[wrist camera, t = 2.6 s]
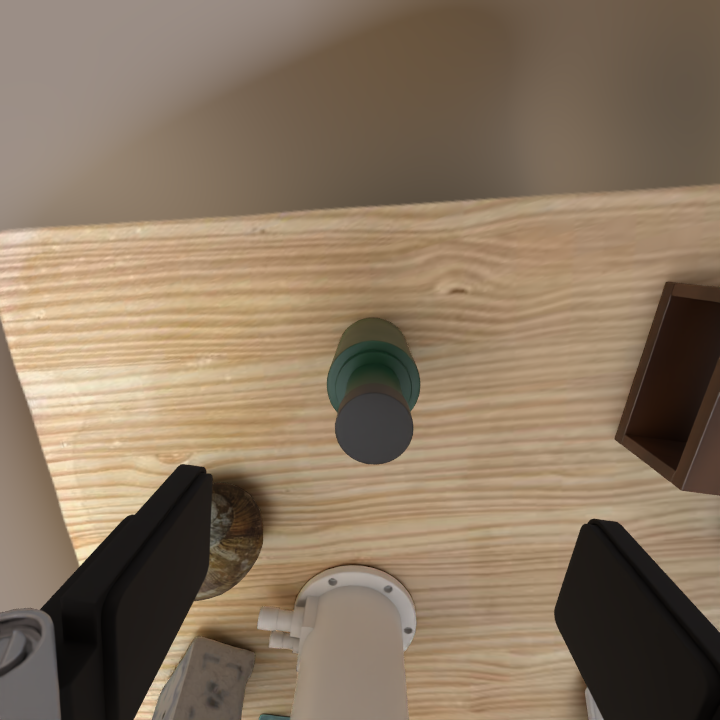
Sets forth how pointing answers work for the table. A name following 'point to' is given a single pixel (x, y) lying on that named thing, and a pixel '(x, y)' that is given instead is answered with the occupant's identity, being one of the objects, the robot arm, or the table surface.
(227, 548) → the seashell
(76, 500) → the table surface
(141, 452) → the table surface
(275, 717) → the chair
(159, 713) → the incense holder
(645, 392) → the box
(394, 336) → the bottle
